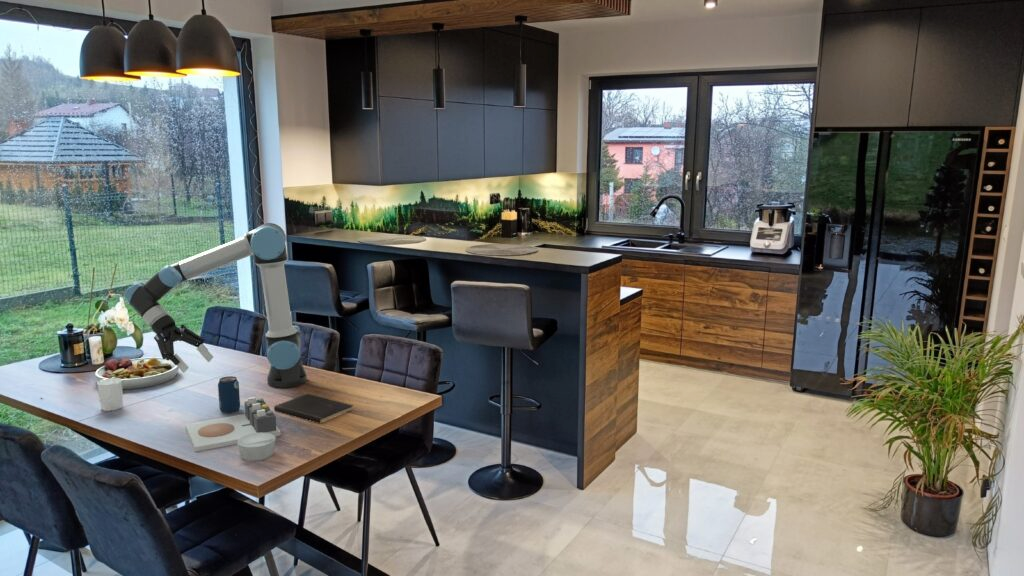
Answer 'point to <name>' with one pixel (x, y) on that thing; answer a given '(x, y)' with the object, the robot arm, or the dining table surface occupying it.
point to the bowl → (138, 371)
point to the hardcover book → (313, 408)
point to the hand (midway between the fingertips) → (198, 364)
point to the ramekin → (256, 446)
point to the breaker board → (233, 426)
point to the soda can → (228, 394)
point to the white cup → (110, 393)
